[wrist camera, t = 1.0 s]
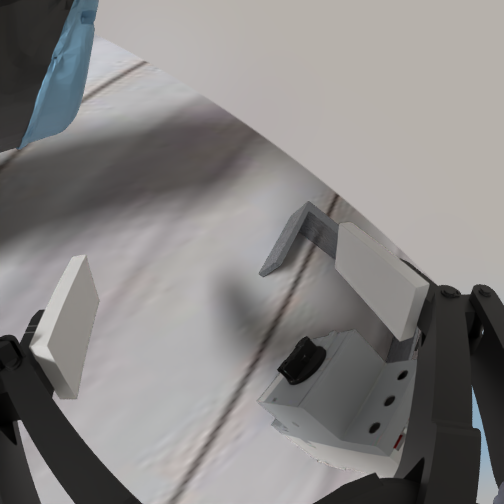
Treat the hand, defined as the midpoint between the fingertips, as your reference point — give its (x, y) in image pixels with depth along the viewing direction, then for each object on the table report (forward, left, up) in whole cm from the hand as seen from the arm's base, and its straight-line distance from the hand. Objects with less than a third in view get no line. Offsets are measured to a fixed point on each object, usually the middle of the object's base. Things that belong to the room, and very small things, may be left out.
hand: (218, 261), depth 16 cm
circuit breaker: (+16, -1, -16) cm, 23 cm away
